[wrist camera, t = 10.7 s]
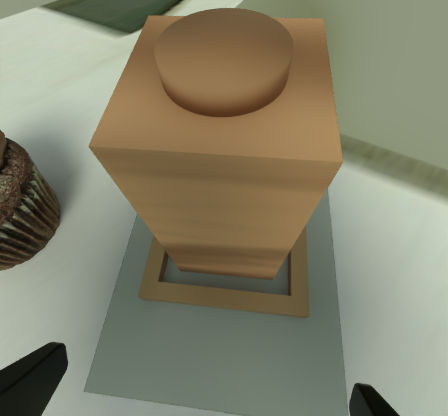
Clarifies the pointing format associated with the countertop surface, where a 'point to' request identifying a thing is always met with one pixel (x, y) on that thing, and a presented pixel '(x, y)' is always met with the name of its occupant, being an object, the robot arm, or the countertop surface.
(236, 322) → the base slab
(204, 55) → the terracotta block
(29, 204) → the cupcake
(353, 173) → the countertop surface
